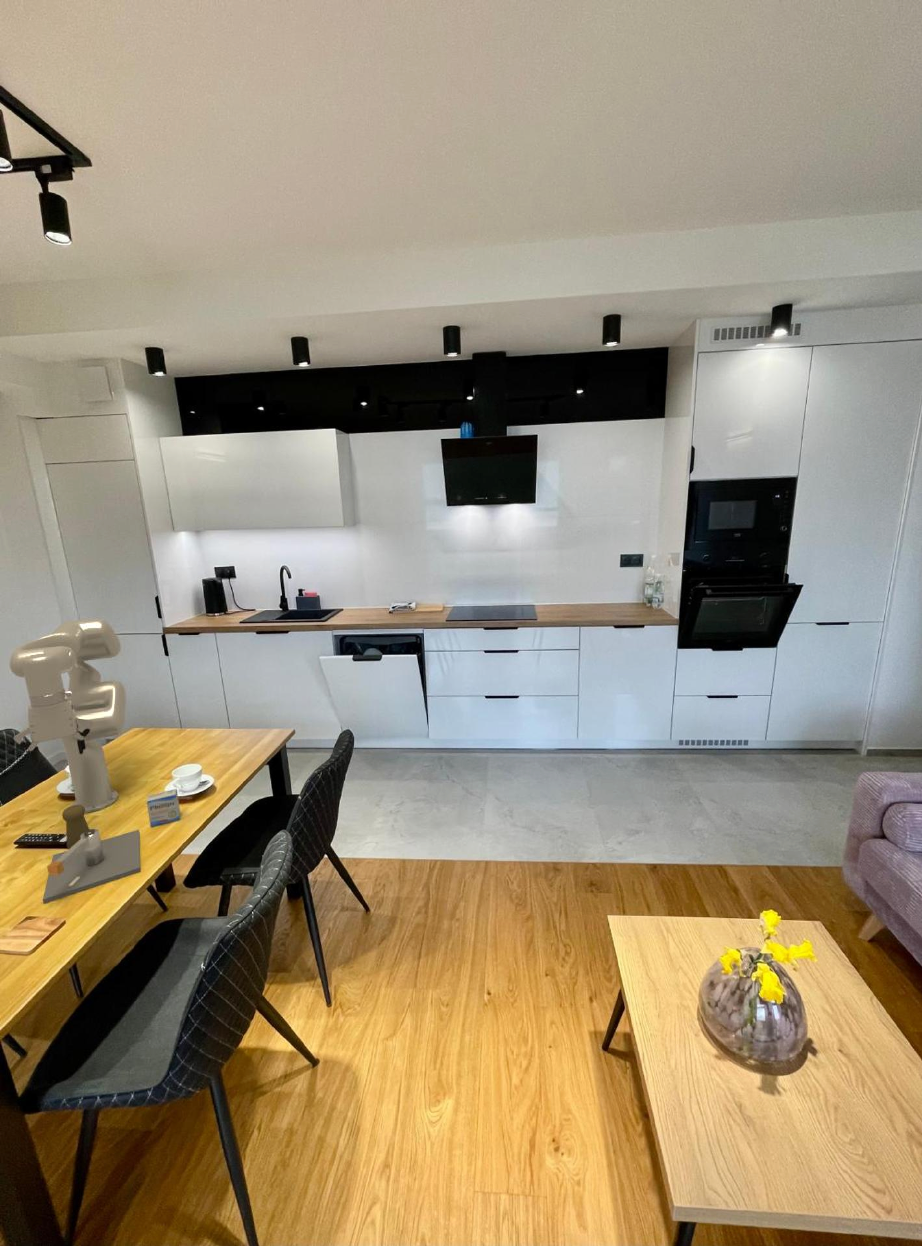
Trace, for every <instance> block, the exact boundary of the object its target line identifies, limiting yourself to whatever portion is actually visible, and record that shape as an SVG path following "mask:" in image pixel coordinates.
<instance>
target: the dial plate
mask: <svg viewBox="0 0 922 1246" xmlns="http://www.w3.org/2000/svg"><path fill="white" fill-rule="evenodd" d="M101 843H102V848H103V853H104V859H103V860H102V861H101V862H99V863H97V864H94V865H87V864H86V861H85V856H84V851H82V852H81V853H80V854H79V855H77V856H76V857H75V858H74V859H73V860H72V861H71V862H70V863H69V864H68V865H67V866H66V867H65V868H64V870H63V871H62V872H61V873H60V874H59V875H51V876H49V874H48V876H47V878H46V879H47V880H46V884H45V888H44V892H43V897H42V903H43V904H44V905H45V904H47V903H48V904H49V903H50V902H53V901H56V900H59V899H62V898H66V897H68V896H71V895H74V894H77V893H80V892H84V891H85V890H86V891H87V890H90V889H92V888H95V887H99V886H102V885H105V884H107V883H110V882H113V881H116V880H119V879H122V878H125V877H128V876H131V875H135V874H137V873H140V872H141V843H140V829H136V830H133V831H132V830H131V831H130V832H125V833H123V834H119V835H116V836H115V835H114V836H112V837H109V838H106V839H101ZM67 851H68V850H65V851H62V852H58V853H56V854H53V855H52V860H51V862H50V864H51V863H52V862H55V861H56V860H58V859H59V858H60V857H61V856H62V855H63V854H64V853H65V852H67Z"/></svg>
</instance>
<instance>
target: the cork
mask: <svg viewBox="0 0 922 1246" xmlns="http://www.w3.org/2000/svg"><path fill="white" fill-rule="evenodd" d="M85 814H86V813H85V808H84V807H83V806H82V805H73V806H71V805H70V806H68V807H66V808H65V809H64V810H63V811H62V814H61V817H62V819H63V821H65V828H66V832H65V833H66V847H67V849H70V848H71V847H72V846H73V845H74V844H76V843H77V842H78V841H79V840H80V839H81V837H80V836H81V834H82V833H84V832H85V831H87V830H90V827H89V825H88V822H87V819H86V817H85Z"/></svg>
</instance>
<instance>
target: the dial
mask: <svg viewBox="0 0 922 1246" xmlns="http://www.w3.org/2000/svg"><path fill="white" fill-rule="evenodd" d="M80 837H81V839H80V840H79V841H78V842H77V843H76V844H74V845H73V846H72V847H71V848H68V850H66V851H67V852H65V851H64V852H65V853H64V854H63V855H62V856H61V857H60V858H59V859H58V860H56V861H55V862H52V861H51V862H52V863H51V862H50V864H49V865H47V872H48V875H49V876H51V875H59V874H60V873H61V872H62V871H63V870H64V868H65V867H66V866H67V865H68V864H69V863H70V862H71V861H72V860H73V859H74V858H75V857H76V856H77V855H79V854H80V853H81V852H82V851H84V856H85V861H86V864H87V865H94V864H97V863H99V862H101V861H102V860H103V859H104V853H103V848H102V843H101V841H102V839H101V834H100V830H99V829H98V828H89V830H87V831H85V832H84V833H82V834H81V836H80Z"/></svg>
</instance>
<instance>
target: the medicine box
mask: <svg viewBox="0 0 922 1246" xmlns="http://www.w3.org/2000/svg"><path fill="white" fill-rule="evenodd" d="M146 807H147V813H148V818H149V824H150V828H155V827H159V826H163V825H167V824H169V823H170V824H171V823H173V822H178V821H180V820H181V810H180V802H179V796H178V790H177V788H174V789H170V790H167V791H162V792H157V793H154V794H150V795H147V796H146Z"/></svg>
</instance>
